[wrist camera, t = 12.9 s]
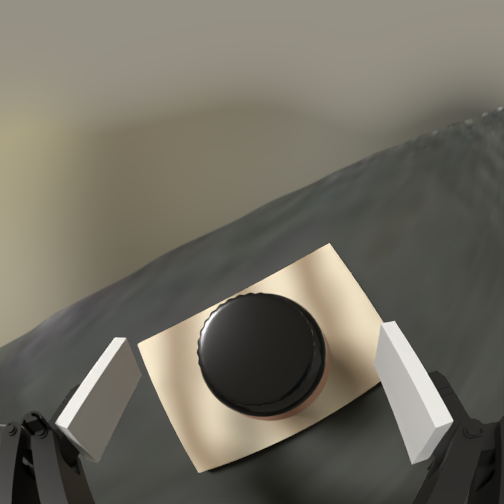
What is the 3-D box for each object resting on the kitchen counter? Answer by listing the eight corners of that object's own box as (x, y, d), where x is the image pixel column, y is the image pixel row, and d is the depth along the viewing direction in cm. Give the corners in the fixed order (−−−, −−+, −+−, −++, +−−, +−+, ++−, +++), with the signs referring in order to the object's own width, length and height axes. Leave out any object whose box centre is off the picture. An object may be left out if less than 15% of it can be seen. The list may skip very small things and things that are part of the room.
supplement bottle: (211, 352, 22) (144, 323, 11) (278, 305, 23) (271, 235, 12) (259, 418, 19) (233, 459, 8) (329, 368, 20) (375, 357, 10)
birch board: (327, 250, 27) (329, 242, 25) (400, 362, 21) (407, 360, 20) (144, 346, 24) (136, 343, 23) (203, 468, 19) (198, 473, 17)
